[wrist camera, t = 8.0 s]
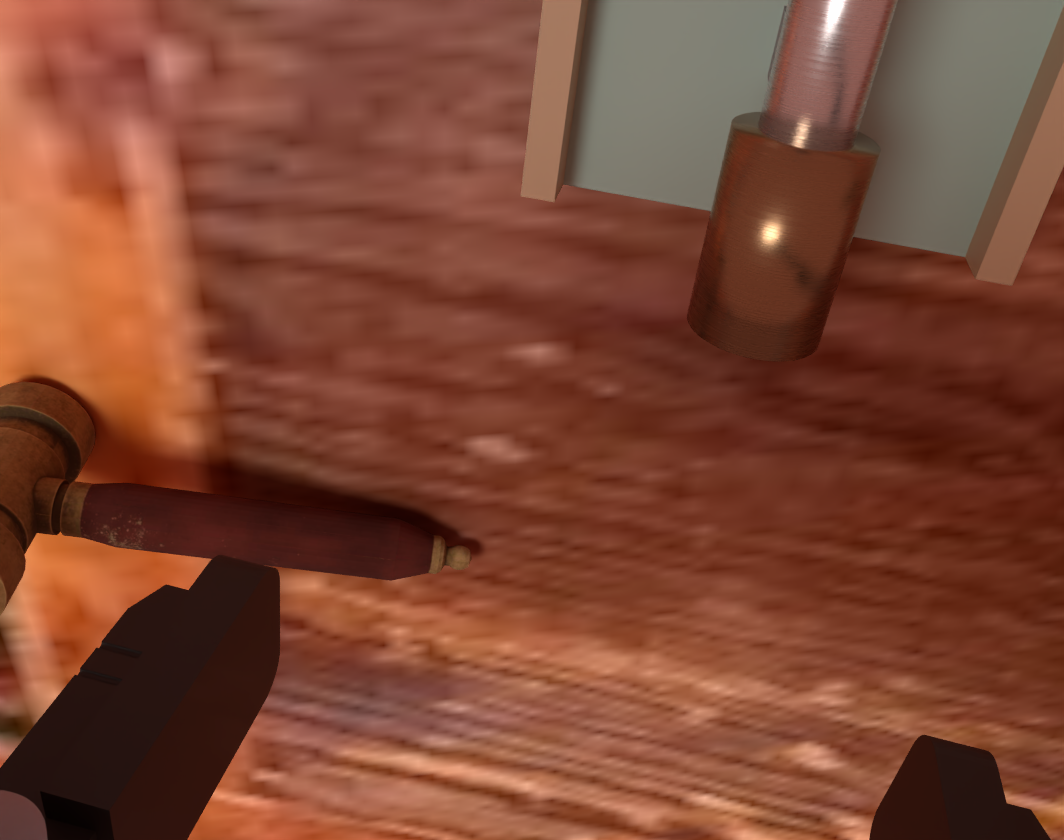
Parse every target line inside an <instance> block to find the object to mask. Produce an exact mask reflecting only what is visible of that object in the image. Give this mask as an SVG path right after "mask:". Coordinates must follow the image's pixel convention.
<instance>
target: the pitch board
mask: <svg viewBox="0 0 1064 840" xmlns="http://www.w3.org/2000/svg"><path fill="white" fill-rule="evenodd" d="M787 4H788V0H543V5H542V14H541V23H540V31H539V40H538V49H537V58H536V66H535V75H534V84H533V93H532V101H531V110H530V119H529V128H528V136H527V145H526V154H525V163H524V171H523V180H522V189H521V196H523V197H528V198H534V199H539V200H545V201H550V202H555V200H556V198H557V196H558V194H559V192H560V190H561V188H562V186H563V184H564V185H570V186H575V187H581V188H586V189H592V190H597V191H603V192H608V193H614V194H619V195H625V196H630V197H636V198H641V199H647V200H653V201H658V202H664V203H669V204H675V205H680V206H686V207H691V208H697V209H702V210H708V211H711V209H712V205H713V200H714V196H715V191H716V187H717V183H718V178H719V174H720V170H721V165H722V161H723V157H724V152H725V148H726V144H727V139H728V135H729V131H730V126H731V122H732V119H733V118H734V117H736V116H738V115H741V114H745V113H751V112H761V110H762V106H763V102H764V98H765V94H766V90H767V86H768V81H769V77H770V73H771V69H772V65H773V61H774V57H775V53H776V49H777V45H778V41H779V37H780V33H781V28H782V24H783V20H784V16H785V12H786V8H787ZM858 131H859V132H861V133H863V134H865V135H867V136H868V137H870V138H871V139H873V140H874V141H875V142H876V143H877V144H878V145H879V146H880V148H881V152H880V155H879V158H878V161H877V164H876V167H875V171H874V174H873V177H872V180H871V183H870V186H869V189H868V192H867V196H866V199H865V202H864V205H863V208H862V211H861V214H860V217H859V221H858V224H857V227H856V230H855V233H854V236H853V237H857V238H863V239H868V240H874V241H879V242H885V243H890V244H896V245H901V246H907V247H912V248H918V249H923V250H929V251H934V252H940V253H945V254H951V255H957V256H962V257H965V258H966V260H967V263H968V265H969V267H970V269H971V271H972V273H973V275H974V278H975V279H977V280H982V281H988V282H993V283H999V284H1004V285H1009V286H1012V285H1013V283H1014V280H1015V278H1016V276H1017V273H1018V271H1019V269H1020V266H1021V264H1022V262H1023V259H1024V257H1025V255H1026V252H1027V250H1028V248H1029V245H1030V243H1031V241H1032V238H1033V236H1034V234H1035V231H1036V229H1037V227H1038V224H1039V222H1040V220H1041V217H1042V215H1043V213H1044V210H1045V208H1046V206H1047V204H1048V201H1049V199H1050V197H1051V194H1052V192H1053V190H1054V187H1055V185H1056V183H1057V180H1058V178H1059V176H1060V173H1061V171H1062V169H1063V166H1064V0H898V2H897V5H896V8H895V12H894V15H893V18H892V22H891V25H890V28H889V31H888V35H887V38H886V41H885V45H884V48H883V51H882V55H881V58H880V61H879V64H878V68H877V71H876V74H875V78H874V81H873V84H872V87H871V91H870V94H869V97H868V101H867V104H866V107H865V110H864V114H863V117H862V120H861V124H860V127H859V130H858Z"/></svg>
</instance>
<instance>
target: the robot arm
mask: <svg viewBox="0 0 1064 840" xmlns="http://www.w3.org/2000/svg"><path fill="white" fill-rule="evenodd" d="M279 655H280V577H279V572H278V570H277V569H276V568H272V567H268V566H264V565H260V564H256V563H252V562H249V561H245V560H241V559H237V558H233V557H229V556H225V555H217V556H216V557H214V558H213V559H212V560H211V561H210V562H209V563H208V565H207V566H206V567H205V569H204V570H203V571H202V573H201V574H200V575H199V577H198V578H197V579H196V581H195V582H194V584H193V585H192V586H191V588H190V589H189V590H185V589H182V588H178V587H174V586H170V585H164V586H163V587H161V588H160V589H158V590H157V591H155V592H153V593H152V594H150V595H149V596H147V597H146V598H144V599H142V600H141V601H139V602H138V603H136V604H135V605H133V606H131V607H130V608H128V609H127V610H126V612H125V613H124V614H123V615H122V617H121V618H120V619H119V620H118V622H117V623H116V624H115V625H114V627H113V628H112V629H111V630H110V632H109V633H108V634H107V635H106V637H105V638H104V639H103V640H102V644H101V646H100V648H96V649H95V650H94V652H93V653H92V654H91V655H90V657H89V658H88V659H87V660H86V662H85V663H84V664H83V665H82V667H81V668H80V672H79V674H78V675H74V677H73V678H72V679H71V680H70V682H69V683H68V684H67V685H66V687H65V688H64V689H63V690H62V692H61V693H60V694H59V695H58V697H57V698H56V699H55V700H54V702H53V703H52V704H51V705H50V707H49V708H48V709H47V710H46V712H45V713H44V714H43V715H42V717H41V718H40V719H39V720H38V722H37V723H36V724H35V725H34V727H33V728H32V729H31V730H30V732H29V733H28V734H27V735H26V737H25V738H24V739H23V740H22V742H21V743H20V744H19V745H18V747H17V748H16V749H15V750H14V751H13V753H12V754H11V755H10V756H9V758H8V759H7V760H6V761H5V763H4V764H3V765H2V766H1V768H0V840H187V839H188V837H189V835H190V833H191V832H192V830H193V828H194V826H195V825H196V823H197V821H198V819H199V817H200V816H201V814H202V812H203V810H204V809H205V807H206V805H207V803H208V801H209V800H210V798H211V796H212V794H213V793H214V791H215V789H216V787H217V785H218V784H219V782H220V780H221V778H222V777H223V775H224V773H225V771H226V769H227V768H228V766H229V764H230V762H231V761H232V759H233V757H234V755H235V753H236V752H237V750H238V748H239V746H240V745H241V743H242V741H243V739H244V737H245V736H246V734H247V732H248V730H249V729H250V727H251V725H252V723H253V721H254V720H255V718H256V716H257V714H258V713H259V711H260V709H261V707H262V705H263V704H264V702H265V700H266V698H267V696H268V694H269V691H270V689H271V686H272V684H273V681H274V678H275V674H276V671H277V667H278V662H279ZM869 840H1051V839H1050V838H1049V836H1048V835H1047V833H1046V832H1045V830H1044V829H1043V827H1042V826H1041V824H1040V823H1039V821H1038V820H1037V818H1036V817H1035V815H1034V814H1033V812H1032V811H1031V810H1030V809H1026V808H1022V807H1019V806H1015V805H1011V804H1007V803H1006V799H1005V795H1004V791H1003V787H1002V783H1001V779H1000V775H999V771H998V767H997V764H996V761H995V759H994V757H993V755H992V754H991V753H990V752H988V751H986V750H982V749H978V748H974V747H970V746H966V745H962V744H958V743H955V742H951V741H947V740H943V739H939V738H935V737H931V736H927V735H921V736H920V737H919V738H918V739H917V740H916V741H915V743H914V744H913V746H912V748H911V749H910V751H909V753H908V755H907V757H906V758H905V760H904V762H903V764H902V766H901V767H900V769H899V771H898V773H897V775H896V776H895V778H894V780H893V782H892V784H891V785H890V787H889V789H888V791H887V793H886V794H885V796H884V798H883V800H882V802H881V803H880V805H879V807H878V809H877V811H876V814H875V816H874V820H873V823H872V828H871V833H870V839H869Z"/></svg>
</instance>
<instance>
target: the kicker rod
mask: <svg viewBox="0 0 1064 840" xmlns="http://www.w3.org/2000/svg"><path fill="white" fill-rule="evenodd" d="M897 2H898V0H788V4H787V8H786V12H785V16H784V20H783V24H782V28H781V33H780V37H779V41H778V45H777V49H776V53H775V57H774V61H773V65H772V69H771V73H770V77H769V81H768V86H767V90H766V94H765V98H764V102H763V106H762V110H761V112H751V113H745V114H741V115H738V116H736V117H734V118H733V119H732V122H731V126H730V131H729V135H728V139H727V144H726V148H725V152H724V157H723V161H722V165H721V170H720V174H719V178H718V183H717V187H716V191H715V196H714V200H713V205H712V209H711V213H710V218H709V222H708V226H707V231H706V235H705V239H704V244H703V248H702V252H701V257H700V261H699V265H698V270H697V274H696V278H695V283H694V287H693V291H692V296H691V300H690V305H689V309H688V313H687V320H688V323H689V325H690V326H691V328H692V329H693V330H694V332H696V333H697V334H698V335H699V336H700V337H701V338H703V339H704V340H706V341H707V342H709V343H710V344H712V345H714V346H716V347H718V348H720V349H723V350H725V351H728V352H730V353H733V354H736V355H740V356H743V357H748V358H752V359H758V360H765V361H791V360H797V359H802V358H804V357H807V356H809V355H811V354H812V353H813V352H815V351H816V349H817V348H818V345H819V342H820V339H821V336H822V333H823V330H824V327H825V323H826V320H827V317H828V314H829V311H830V308H831V305H832V302H833V299H834V295H835V292H836V289H837V286H838V283H839V280H840V277H841V274H842V270H843V267H844V264H845V261H846V258H847V255H848V252H849V249H850V245H851V242H852V239H853V236H854V233H855V230H856V227H857V224H858V221H859V217H860V214H861V211H862V208H863V205H864V202H865V199H866V196H867V192H868V189H869V186H870V183H871V180H872V177H873V174H874V171H875V167H876V164H877V161H878V158H879V155H880V152H881V148H880V146H879V145H878V144H877V143H876V142H875V141H874V140H873V139H871V138H870V137H868V136H867V135H865V134H863V133H861V132H859V131H858V130H859V127H860V124H861V120H862V117H863V114H864V110H865V107H866V104H867V101H868V97H869V94H870V91H871V87H872V84H873V81H874V78H875V74H876V71H877V68H878V64H879V61H880V58H881V55H882V51H883V48H884V45H885V41H886V38H887V35H888V31H889V28H890V25H891V22H892V18H893V15H894V12H895V8H896V5H897Z"/></svg>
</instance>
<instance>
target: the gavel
mask: <svg viewBox="0 0 1064 840" xmlns="http://www.w3.org/2000/svg"><path fill="white" fill-rule="evenodd" d="M94 444H95V430H94V426H93V423H92V421H91V418H90V417H89V415H88V414H87V412H86V411H85V409H84V408H83V407H82V406H81V405H80V404H79V403H78V402H77V401H76V400H74V399H73V398H72V397H70V396H69V395H67V394H66V393H64V392H62V391H60V390H58V389H56V388H53V387H50V386H48V385H44V384H39V383H33V382H18V383H11V384H8V385H4V386H2V387H0V615H1V614H2V613H3V611H4V609H5V607H6V606H7V604H8V602H9V600H10V598H11V596H12V595H13V593H14V591H15V589H16V587H17V586H18V584H19V582H20V580H21V578H22V576H23V574H24V571H25V562H26V560H25V555H24V554H25V553H26V551H27V549H28V547H29V546H30V544H31V542H32V540H33V539H34V537H35V535H36V533H42V534H51V535H57V534H59V533H60V531H61V533H62V535H65V536H73V537H81V538H86V539H90V540H93V541H96V542H100V543H103V544H107V545H110V546H114V547H119V548H127V549H135V550H143V551H152V552H160V553H168V554H176V555H185V556H193V557H201V558H210V559H213V558H214V557H216V556H217V555H225V556H229V557H233V558H237V559H241V560H245V561H249V562H252V563H256V564H260V565H267V566H276V567H284V568H292V569H300V570H309V571H317V572H325V573H333V574H342V575H350V576H358V577H367V578H375V579H383V580H396V579H401V578H406V577H411V576H416V575H421V574H425V573H433V574H436V573H438V572H440V571H441V569H442V568H443V566H444V565H447V566H450V567H452V568H454V569H457V570H462V569H465V568H467V567H468V565H469V563H470V561H471V553H470V550H469V549H468V548H467V547H465V546H461V545H457V546H453V547H447V545H446V542H445V540H444V538H442V537H441V536H437V535H432V534H430V533H428V532H426V531H424V530H422V529H420V528H418V527H416V526H414V525H412V524H410V523H408V522H405V521H403V520H401V519H398V518H390V517H382V516H375V515H367V514H360V513H352V512H344V511H337V510H329V509H322V508H314V507H306V506H299V505H291V504H284V503H276V502H268V501H261V500H253V499H246V498H238V497H230V496H223V495H215V494H207V493H200V492H192V491H185V490H177V489H169V488H162V487H154V486H147V485H139V484H131V483H109V484H91V483H83V482H76V481H75V479H76V478H77V477H78V475H79V473H80V472H81V470H82V468H83V466H84V464H85V462H86V461H87V459H88V457H89V455H90V453H91V452H92V449H93V447H94Z"/></svg>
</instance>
